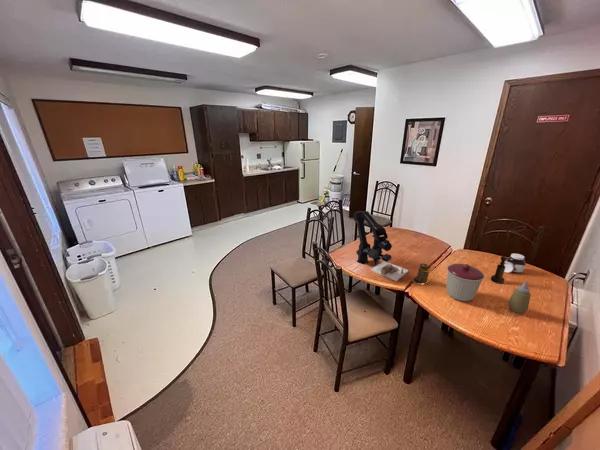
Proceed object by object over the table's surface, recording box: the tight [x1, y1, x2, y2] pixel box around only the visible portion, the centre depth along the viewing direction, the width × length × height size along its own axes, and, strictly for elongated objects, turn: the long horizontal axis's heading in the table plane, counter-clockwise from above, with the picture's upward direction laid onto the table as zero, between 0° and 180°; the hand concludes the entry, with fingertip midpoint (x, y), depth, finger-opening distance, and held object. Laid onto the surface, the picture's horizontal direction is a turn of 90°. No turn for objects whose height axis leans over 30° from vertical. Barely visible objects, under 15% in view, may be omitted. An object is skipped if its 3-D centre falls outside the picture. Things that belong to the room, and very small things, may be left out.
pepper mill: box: [490, 255, 508, 284], centre depth 153 cm, size 7×6×18 cm
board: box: [371, 260, 409, 282], centre depth 170 cm, size 19×17×5 cm
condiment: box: [411, 263, 430, 285], centre depth 156 cm, size 7×8×12 cm
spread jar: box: [504, 253, 527, 274], centre depth 164 cm, size 12×11×12 cm
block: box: [380, 264, 398, 276], centre depth 167 cm, size 14×8×3 cm, turn 132°
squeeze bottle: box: [507, 281, 532, 315], centre depth 127 cm, size 8×8×18 cm
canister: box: [446, 263, 486, 302], centre depth 139 cm, size 18×18×21 cm
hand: (375, 265), depth 168 cm, fingers closed
